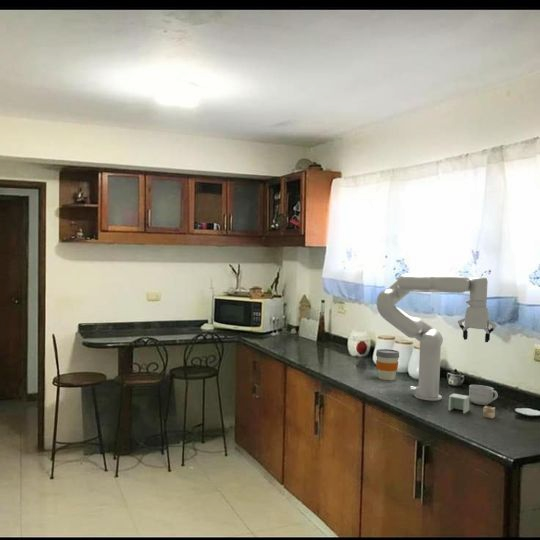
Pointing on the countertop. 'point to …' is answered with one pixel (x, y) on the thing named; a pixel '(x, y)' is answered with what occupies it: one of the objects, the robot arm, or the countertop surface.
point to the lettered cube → (489, 412)
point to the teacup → (481, 394)
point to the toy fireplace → (459, 402)
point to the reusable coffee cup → (387, 363)
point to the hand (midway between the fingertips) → (476, 340)
